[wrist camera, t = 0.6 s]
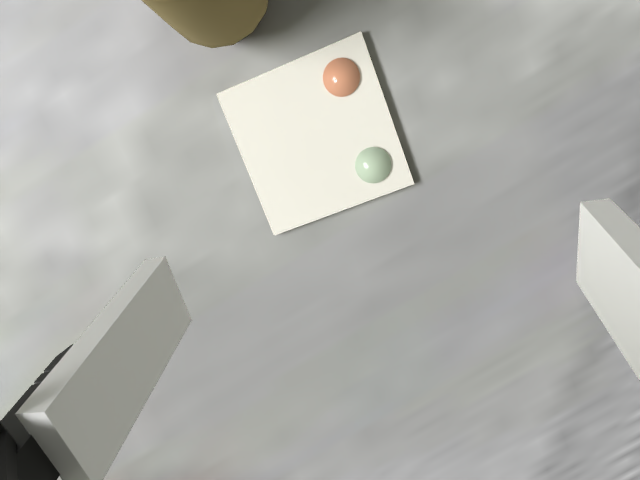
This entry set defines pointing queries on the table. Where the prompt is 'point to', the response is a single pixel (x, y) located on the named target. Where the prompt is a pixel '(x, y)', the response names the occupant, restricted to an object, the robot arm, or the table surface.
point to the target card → (316, 135)
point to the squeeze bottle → (211, 19)
